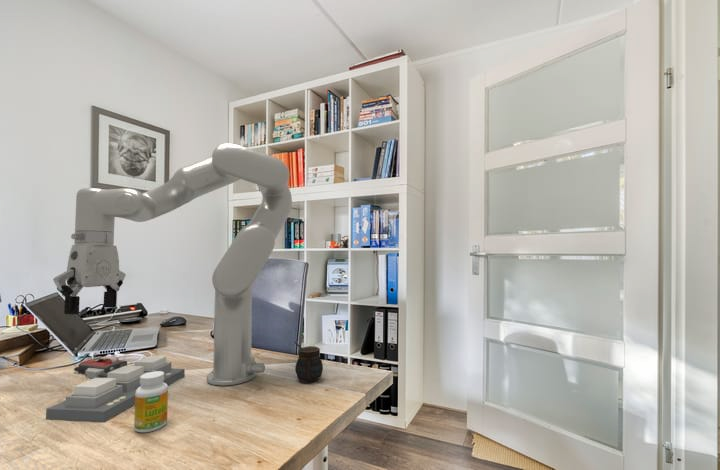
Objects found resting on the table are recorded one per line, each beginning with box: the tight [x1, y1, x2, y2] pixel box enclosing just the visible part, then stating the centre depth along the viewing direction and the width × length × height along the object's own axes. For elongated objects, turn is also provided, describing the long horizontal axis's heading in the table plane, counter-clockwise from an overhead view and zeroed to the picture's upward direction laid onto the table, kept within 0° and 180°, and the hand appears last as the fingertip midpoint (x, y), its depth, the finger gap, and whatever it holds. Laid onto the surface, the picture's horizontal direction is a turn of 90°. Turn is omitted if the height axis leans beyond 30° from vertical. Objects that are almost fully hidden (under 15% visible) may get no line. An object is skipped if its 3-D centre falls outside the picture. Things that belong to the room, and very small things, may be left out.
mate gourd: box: [293, 341, 324, 384], centre depth 88 cm, size 7×8×10 cm
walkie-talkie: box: [73, 355, 128, 379], centre depth 94 cm, size 9×4×20 cm
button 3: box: [73, 377, 116, 397], centre depth 72 cm, size 5×5×2 cm
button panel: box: [45, 361, 186, 423], centre depth 79 cm, size 13×25×4 cm, turn 173°
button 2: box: [107, 365, 144, 382], centre depth 80 cm, size 5×5×2 cm
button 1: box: [134, 355, 167, 370], centre depth 87 cm, size 5×5×2 cm
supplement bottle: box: [133, 371, 169, 433], centre depth 65 cm, size 5×5×10 cm
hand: (91, 310), depth 81 cm, fingers open, 9 cm apart
